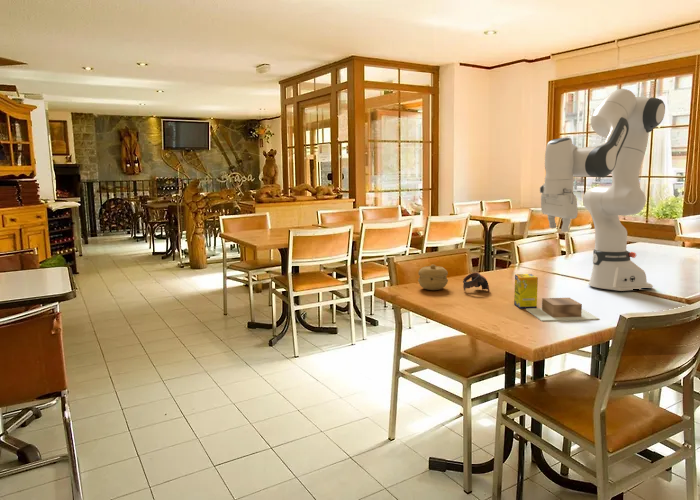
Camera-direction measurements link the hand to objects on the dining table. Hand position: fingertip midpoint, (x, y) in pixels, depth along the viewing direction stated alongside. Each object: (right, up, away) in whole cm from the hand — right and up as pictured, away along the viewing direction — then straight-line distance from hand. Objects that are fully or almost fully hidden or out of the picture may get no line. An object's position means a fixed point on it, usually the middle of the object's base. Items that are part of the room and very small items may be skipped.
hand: (558, 229), depth 175 cm
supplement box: (-9, -26, +5) cm, 29 cm away
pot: (-36, -23, +35) cm, 56 cm away
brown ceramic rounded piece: (-19, -24, +31) cm, 43 cm away
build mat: (-1, -28, -6) cm, 28 cm away
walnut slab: (-1, -27, -6) cm, 28 cm away
